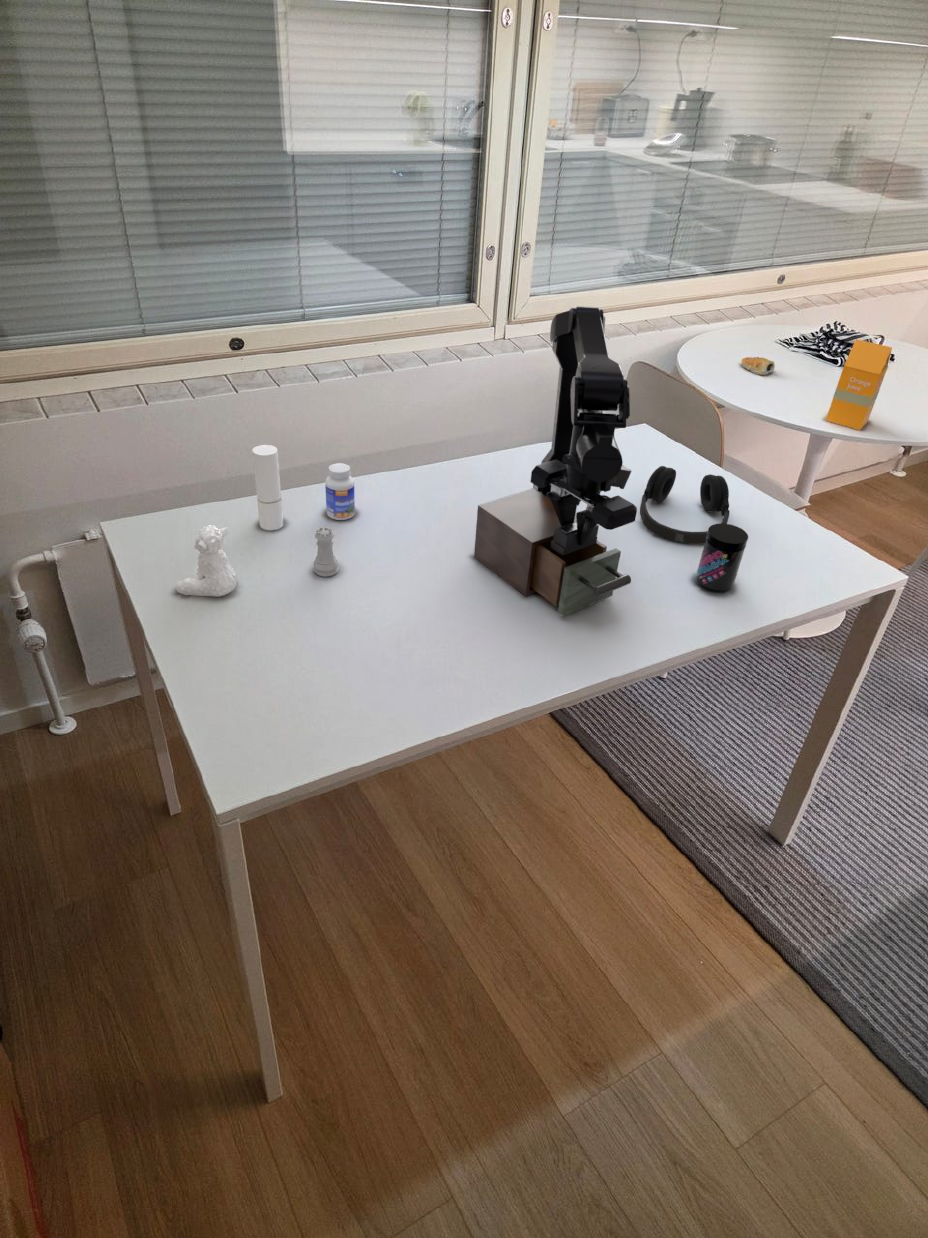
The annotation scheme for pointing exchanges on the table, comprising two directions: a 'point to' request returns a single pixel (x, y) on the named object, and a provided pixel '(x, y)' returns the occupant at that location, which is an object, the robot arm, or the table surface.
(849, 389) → the orange juice
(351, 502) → the pill bottle
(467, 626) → the table surface
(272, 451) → the tube
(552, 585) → the drawer
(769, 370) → the pastry
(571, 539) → the dark box
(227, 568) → the white creature statuette
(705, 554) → the supplement container
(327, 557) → the rook chess piece
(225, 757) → the table surface
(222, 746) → the table surface
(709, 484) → the headphones
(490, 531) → the cabinet
